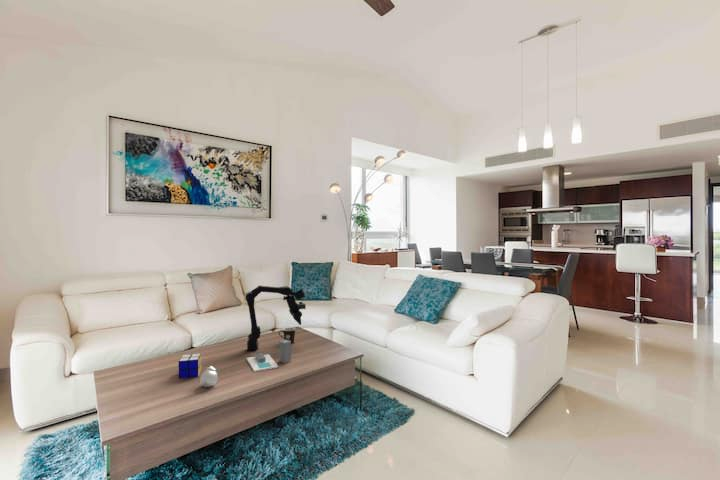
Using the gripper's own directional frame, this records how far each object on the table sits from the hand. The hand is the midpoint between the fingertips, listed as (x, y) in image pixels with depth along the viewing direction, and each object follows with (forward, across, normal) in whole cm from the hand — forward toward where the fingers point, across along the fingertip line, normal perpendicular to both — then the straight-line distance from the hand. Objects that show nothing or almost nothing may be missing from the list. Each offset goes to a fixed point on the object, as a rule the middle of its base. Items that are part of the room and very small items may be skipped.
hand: (299, 322), depth 248 cm
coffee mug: (+12, +7, +12) cm, 19 cm away
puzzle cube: (-9, -30, +69) cm, 76 cm away
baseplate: (+5, -27, +32) cm, 42 cm away
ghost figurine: (-5, -49, +59) cm, 77 cm away
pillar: (+10, -28, +19) cm, 35 cm away
